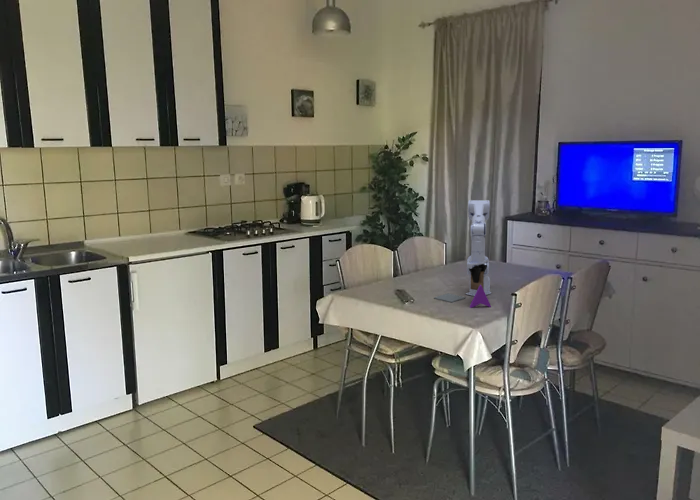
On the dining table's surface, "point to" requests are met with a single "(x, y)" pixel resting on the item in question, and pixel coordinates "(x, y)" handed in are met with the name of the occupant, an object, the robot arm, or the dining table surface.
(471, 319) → the dining table surface
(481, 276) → the tall wooden plank
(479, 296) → the arrowhead
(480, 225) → the robot arm
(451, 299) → the rubber mat
